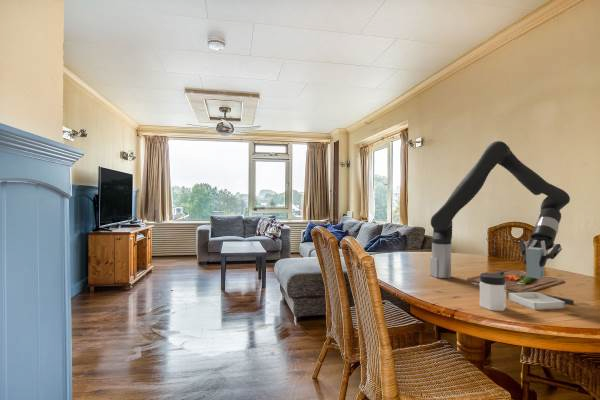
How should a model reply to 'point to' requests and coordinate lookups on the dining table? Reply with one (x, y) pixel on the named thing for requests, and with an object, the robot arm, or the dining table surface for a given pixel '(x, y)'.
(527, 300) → the parts tray
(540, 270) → the tall gray-blue pillar
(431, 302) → the dining table surface
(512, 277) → the chopping board
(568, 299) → the long charcoal bar
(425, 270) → the dining table surface
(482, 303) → the jar
